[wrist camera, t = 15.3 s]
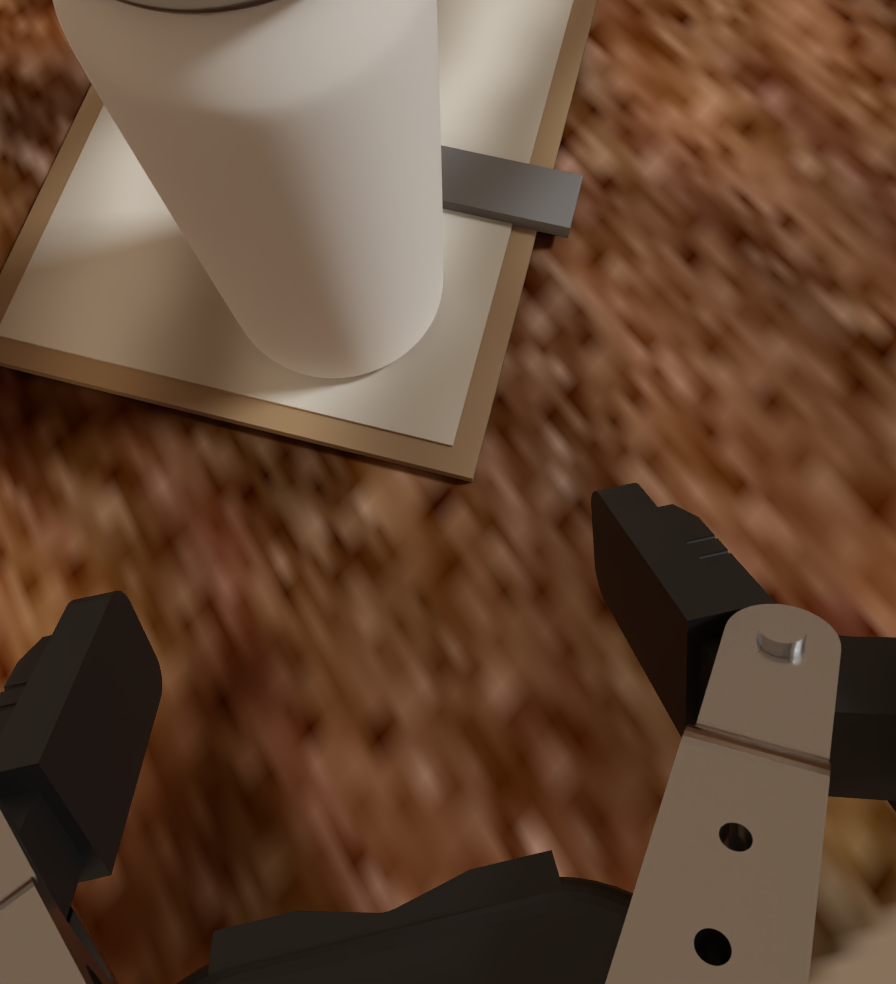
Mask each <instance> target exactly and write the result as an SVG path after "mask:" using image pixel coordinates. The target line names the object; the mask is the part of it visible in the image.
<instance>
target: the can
mask: <svg viewBox="0 0 896 984" xmlns="http://www.w3.org/2000/svg"><path fill="white" fill-rule="evenodd" d="M53 4H54V8H55V12H56V15H57V18H58V21H59V23H60V25H61V28H62V30H63V32H64V34H65V36H66V38H67V40H68V43H69V45H70V47H71V49H72V50H73V52H74V54H75V56H76V57H77V59H78V61H79V63H80V64H81V66H82V68H83V70H84V71H85V73H86V75H87V77H88V78H89V80H90V82H91V84H92V85H93V87H94V89H95V90H96V92H97V94H98V95H99V97H100V99H101V100H102V102H103V104H104V105H105V107H106V109H107V110H108V112H109V114H110V115H111V117H112V119H113V120H114V122H115V124H116V125H117V127H118V128H119V130H120V132H121V133H122V135H123V137H124V138H125V140H126V142H127V143H128V145H129V147H130V148H131V150H132V151H133V153H134V155H135V156H136V158H137V160H138V161H139V163H140V165H141V166H142V168H143V170H144V171H145V173H146V174H147V176H148V178H149V179H150V181H151V183H152V184H153V186H154V188H155V189H156V191H157V192H158V194H159V196H160V197H161V199H162V201H163V202H164V204H165V205H166V207H167V209H168V210H169V212H170V214H171V215H172V217H173V219H174V220H175V222H176V223H177V225H178V227H179V228H180V230H181V232H182V233H183V235H184V236H185V238H186V240H187V241H188V243H189V245H190V246H191V248H192V249H193V251H194V253H195V254H196V256H197V258H198V259H199V261H200V262H201V264H202V266H203V267H204V269H205V270H206V272H207V274H208V275H209V277H210V279H211V280H212V282H213V283H214V285H215V287H216V288H217V290H218V291H219V293H220V295H221V296H222V298H223V299H224V301H225V303H226V304H227V306H228V307H229V309H230V311H231V312H232V314H233V315H234V317H235V318H236V320H237V322H238V323H239V325H240V326H241V328H242V329H243V331H244V332H245V334H246V335H247V336H248V338H249V339H250V340H251V341H252V343H253V344H254V345H255V346H256V347H257V348H258V349H259V350H260V351H261V352H262V353H263V354H265V355H266V356H267V357H268V358H270V359H271V360H273V361H274V362H276V363H277V364H279V365H281V366H283V367H285V368H287V369H289V370H292V371H294V372H297V373H300V374H304V375H308V376H313V377H320V378H346V377H353V376H358V375H363V374H366V373H370V372H372V371H375V370H378V369H380V368H382V367H384V366H387V365H388V364H390V363H392V362H394V361H395V360H397V359H398V358H400V357H401V356H403V355H404V354H405V353H407V352H408V351H409V350H410V349H411V348H412V347H413V346H414V345H415V344H416V343H417V342H418V341H419V340H420V339H421V338H422V336H423V335H424V334H425V332H426V331H427V330H428V328H429V326H430V325H431V323H432V321H433V319H434V317H435V315H436V313H437V310H438V307H439V304H440V300H441V296H442V289H443V206H442V163H441V124H440V87H439V52H438V22H437V0H53Z"/></svg>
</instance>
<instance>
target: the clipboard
mask: <svg viewBox="0 0 896 984" xmlns="http://www.w3.org/2000/svg"><path fill="white" fill-rule="evenodd" d="M596 4H597V0H437V22H438V52H439V87H440V124H441V163H442V206H443V289H442V296H441V300H440V304H439V307H438V310H437V313H436V315H435V317H434V319H433V321H432V323H431V325H430V326H429V328H428V330H427V331H426V332H425V334H424V335H423V336H422V338H421V339H420V340H419V341H418V342H417V343H416V344H415V345H414V346H413V347H412V348H411V349H410V350H409V351H408V352H407V353H405V354H404V355H403V356H401V357H400V358H398V359H397V360H395V361H394V362H392V363H390V364H388V365H387V366H384V367H382V368H380V369H378V370H375V371H372V372H370V373H366V374H363V375H358V376H353V377H346V378H320V377H313V376H308V375H304V374H300V373H297V372H294V371H292V370H289V369H287V368H285V367H283V366H281V365H279V364H277V363H276V362H274V361H273V360H271V359H270V358H268V357H267V356H266V355H265V354H263V353H262V352H261V351H260V350H259V349H258V348H257V347H256V346H255V345H254V344H253V343H252V341H251V340H250V339H249V338H248V336H247V335H246V334H245V332H244V331H243V329H242V328H241V326H240V325H239V323H238V322H237V320H236V318H235V317H234V315H233V314H232V312H231V311H230V309H229V307H228V306H227V304H226V303H225V301H224V299H223V298H222V296H221V295H220V293H219V291H218V290H217V288H216V287H215V285H214V283H213V282H212V280H211V279H210V277H209V275H208V274H207V272H206V270H205V269H204V267H203V266H202V264H201V262H200V261H199V259H198V258H197V256H196V254H195V253H194V251H193V249H192V248H191V246H190V245H189V243H188V241H187V240H186V238H185V236H184V235H183V233H182V232H181V230H180V228H179V227H178V225H177V223H176V222H175V220H174V219H173V217H172V215H171V214H170V212H169V210H168V209H167V207H166V205H165V204H164V202H163V201H162V199H161V197H160V196H159V194H158V192H157V191H156V189H155V188H154V186H153V184H152V183H151V181H150V179H149V178H148V176H147V174H146V173H145V171H144V170H143V168H142V166H141V165H140V163H139V161H138V160H137V158H136V156H135V155H134V153H133V151H132V150H131V148H130V147H129V145H128V143H127V142H126V140H125V138H124V137H123V135H122V133H121V132H120V130H119V128H118V127H117V125H116V124H115V122H114V120H113V119H112V117H111V115H110V114H109V112H108V110H107V109H106V107H105V105H104V104H103V102H102V100H101V99H100V97H99V95H98V94H97V92H96V90H95V89H94V87H93V85H92V84H91V87H90V89H89V91H88V93H87V95H86V97H85V99H84V101H83V103H82V105H81V107H80V109H79V111H78V114H77V116H76V118H75V120H74V122H73V124H72V126H71V128H70V130H69V132H68V134H67V136H66V139H65V141H64V143H63V145H62V147H61V149H60V151H59V153H58V155H57V157H56V159H55V161H54V163H53V166H52V168H51V170H50V172H49V174H48V176H47V178H46V180H45V182H44V184H43V186H42V188H41V191H40V193H39V195H38V197H37V199H36V201H35V203H34V205H33V207H32V209H31V211H30V213H29V215H28V218H27V220H26V222H25V224H24V226H23V228H22V230H21V232H20V234H19V236H18V238H17V240H16V242H15V245H14V247H13V249H12V251H11V253H10V255H9V257H8V259H7V261H6V263H5V265H4V267H3V270H2V272H1V274H0V366H2V367H6V368H10V369H14V370H18V371H22V372H26V373H30V374H34V375H38V376H42V377H46V378H50V379H55V380H59V381H63V382H67V383H71V384H75V385H79V386H83V387H87V388H91V389H95V390H99V391H103V392H107V393H111V394H115V395H119V396H124V397H128V398H132V399H136V400H140V401H144V402H148V403H152V404H156V405H160V406H164V407H168V408H172V409H176V410H180V411H184V412H188V413H193V414H197V415H201V416H205V417H209V418H213V419H217V420H221V421H225V422H229V423H233V424H237V425H241V426H245V427H249V428H253V429H257V430H262V431H266V432H270V433H274V434H278V435H282V436H286V437H290V438H294V439H298V440H302V441H306V442H310V443H314V444H318V445H322V446H326V447H330V448H335V449H339V450H343V451H347V452H351V453H355V454H359V455H363V456H367V457H371V458H375V459H379V460H383V461H387V462H391V463H395V464H399V465H404V466H408V467H412V468H416V469H420V470H424V471H428V472H432V473H436V474H440V475H444V476H448V477H452V478H456V479H460V480H464V481H468V482H472V481H473V478H474V474H475V470H476V466H477V462H478V458H479V454H480V451H481V447H482V443H483V439H484V435H485V431H486V427H487V424H488V420H489V416H490V412H491V408H492V404H493V400H494V397H495V393H496V389H497V385H498V381H499V377H500V374H501V370H502V366H503V362H504V358H505V354H506V350H507V347H508V343H509V339H510V335H511V331H512V327H513V323H514V320H515V316H516V312H517V308H518V304H519V300H520V296H521V293H522V289H523V285H524V281H525V277H526V273H527V269H528V266H529V262H530V258H531V254H532V250H533V246H534V242H535V239H536V235H537V231H539V232H543V233H548V234H552V235H557V236H561V237H566V238H568V234H569V231H570V227H571V223H572V219H573V214H574V210H575V206H576V202H577V198H578V194H579V190H580V186H581V182H582V178H583V175H579V174H574V173H569V172H565V171H560V170H555V169H554V165H555V162H556V158H557V154H558V150H559V146H560V142H561V138H562V135H563V131H564V127H565V123H566V119H567V115H568V111H569V108H570V104H571V100H572V96H573V92H574V88H575V84H576V81H577V77H578V73H579V69H580V65H581V61H582V57H583V54H584V50H585V46H586V42H587V38H588V34H589V30H590V27H591V23H592V19H593V15H594V11H595V7H596Z"/></svg>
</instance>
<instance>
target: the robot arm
mask: <svg viewBox="0 0 896 984" xmlns="http://www.w3.org/2000/svg"><path fill="white" fill-rule="evenodd" d="M591 508H592V525H593V542H594V558H595V570H596V575H597V580H598V584H599V587H600V590H601V593H602V595H603V598H604V600H605V602H606V604H607V605H608V607H609V609H610V611H611V612H612V614H613V616H614V618H615V620H616V621H617V623H618V625H619V627H620V629H621V630H622V632H623V634H624V636H625V637H626V639H627V641H628V643H629V645H630V646H631V648H632V650H633V652H634V654H635V655H636V657H637V659H638V661H639V662H640V664H641V666H642V668H643V670H644V671H645V673H646V675H647V677H648V678H649V680H650V682H651V684H652V686H653V687H654V689H655V691H656V693H657V695H658V696H659V698H660V700H661V702H662V703H663V705H664V707H665V709H666V711H667V712H668V714H669V716H670V718H671V720H672V721H673V723H674V725H675V727H676V728H677V730H678V732H679V734H680V736H681V737H682V739H681V742H680V745H679V749H678V752H677V755H676V758H675V761H674V765H673V768H672V771H671V774H670V777H669V781H668V784H667V787H666V790H665V794H664V797H663V800H662V803H661V806H660V810H659V813H658V816H657V819H656V822H655V826H654V829H653V832H652V835H651V838H650V842H649V845H648V848H647V851H646V854H645V858H644V861H643V864H642V867H641V870H640V874H639V877H638V880H637V883H636V886H635V890H634V893H630V892H628V891H626V890H623V889H621V888H618V887H615V886H612V885H608V884H605V883H601V882H598V881H593V880H587V879H581V878H573V877H559V874H558V870H557V867H556V864H555V860H554V857H553V854H552V850H550V851H546V852H542V853H538V854H534V855H529V856H525V857H521V858H517V859H513V860H508V861H504V862H500V863H496V864H492V865H488V866H483V867H479V868H475V869H471V870H469V871H467V872H465V873H463V874H461V875H459V876H457V877H455V878H453V879H451V880H449V881H447V882H446V883H444V884H442V885H440V886H438V887H436V888H434V889H432V890H430V891H428V892H426V893H424V894H423V895H421V896H419V897H417V898H415V899H413V900H411V901H409V902H407V903H405V904H403V905H401V906H399V907H398V908H396V909H393V910H391V911H388V912H384V913H360V912H324V911H295V912H291V913H287V914H283V915H279V916H274V917H270V918H266V919H262V920H258V921H253V922H249V923H245V924H241V925H237V926H233V927H228V928H224V929H220V930H216V931H214V932H213V940H212V947H211V954H210V962H209V964H207V965H205V966H203V967H201V968H200V969H198V970H196V971H195V972H193V973H192V974H190V975H189V976H187V977H186V978H184V979H183V980H181V981H180V982H178V983H177V984H808V982H809V972H810V963H811V953H812V944H813V934H814V925H815V915H816V906H817V896H818V887H819V877H820V868H821V858H822V849H823V839H824V830H825V820H826V811H827V801H828V796H832V797H847V798H862V799H876V800H888V802H889V803H890V804H891V806H892V807H893V809H894V810H895V811H896V638H889V637H850V636H841V635H837V633H836V632H835V630H834V629H833V628H832V627H831V626H830V625H829V624H828V623H827V622H825V621H824V620H823V619H821V618H820V617H818V616H816V615H815V614H812V613H810V612H808V611H806V610H803V609H800V608H797V607H793V606H788V605H781V604H776V603H775V602H774V601H773V599H772V598H771V597H770V596H769V595H768V594H767V593H766V592H765V591H764V589H763V588H762V587H761V586H760V585H759V584H758V583H757V582H756V581H755V579H754V578H753V577H752V576H751V575H750V574H749V573H748V572H747V571H746V569H745V568H744V567H743V566H742V565H741V564H740V563H739V562H738V561H737V559H736V558H735V557H734V556H733V555H732V554H731V553H730V554H729V553H728V549H727V548H726V547H725V546H724V545H723V544H722V543H721V542H720V541H719V539H718V538H717V539H715V536H714V534H713V533H712V532H711V531H710V529H709V528H708V527H707V526H706V525H705V524H704V523H703V522H702V521H701V519H700V518H699V517H697V516H695V515H693V514H691V513H689V512H687V511H685V510H683V509H681V508H679V507H677V506H675V505H673V504H671V505H666V506H662V507H657V506H656V505H655V503H654V502H653V501H652V500H651V499H650V497H649V496H648V495H647V494H646V493H645V491H644V490H643V489H642V488H641V486H640V485H639V484H637V483H632V484H627V485H622V486H618V487H613V488H608V489H603V490H599V491H594V492H593V494H592V498H591ZM4 689H5V691H4V692H1V693H0V984H119V983H118V982H117V980H116V978H115V976H114V975H113V973H112V971H111V969H110V968H109V966H108V964H107V962H106V961H105V959H104V957H103V955H102V954H101V952H100V950H99V948H98V947H97V945H96V943H95V941H94V940H93V938H92V936H91V934H90V933H89V931H88V929H87V927H86V926H85V924H84V922H83V920H82V919H81V917H80V915H79V913H78V912H77V911H76V909H75V908H74V906H73V905H72V904H71V902H72V899H73V896H74V893H75V890H76V887H77V883H79V882H83V881H87V880H92V879H96V878H100V877H105V876H109V875H111V873H112V870H113V866H114V863H115V859H116V856H117V852H118V848H119V845H120V841H121V838H122V834H123V831H124V827H125V823H126V820H127V816H128V813H129V809H130V806H131V802H132V798H133V795H134V791H135V788H136V784H137V780H138V777H139V773H140V770H141V766H142V763H143V759H144V755H145V752H146V748H147V745H148V741H149V738H150V734H151V730H152V727H153V723H154V720H155V716H156V713H157V709H158V705H159V702H160V698H161V693H162V676H161V670H160V666H159V662H158V660H157V657H156V655H155V653H154V651H153V649H152V647H151V644H150V642H149V640H148V638H147V636H146V634H145V632H144V630H143V628H142V626H141V623H140V621H139V619H138V617H137V615H136V613H135V611H134V609H133V607H132V605H131V602H130V601H129V599H128V597H127V596H126V595H125V594H124V593H123V592H122V591H114V592H109V593H104V594H99V595H95V596H90V597H85V598H80V599H76V600H72V601H71V602H70V603H69V604H68V605H67V607H66V609H65V611H64V613H63V615H62V617H61V618H60V620H59V622H58V624H57V626H56V628H55V630H54V632H53V634H52V635H50V636H46V637H43V638H42V639H41V640H40V641H39V642H38V643H37V644H36V645H34V646H33V647H32V648H31V649H30V650H29V651H28V652H27V653H26V654H25V655H24V656H23V657H22V658H21V659H20V660H19V661H18V663H17V664H16V666H15V668H14V670H13V672H12V673H11V675H10V677H9V679H8V681H7V682H6V684H5V686H4Z"/></svg>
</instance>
